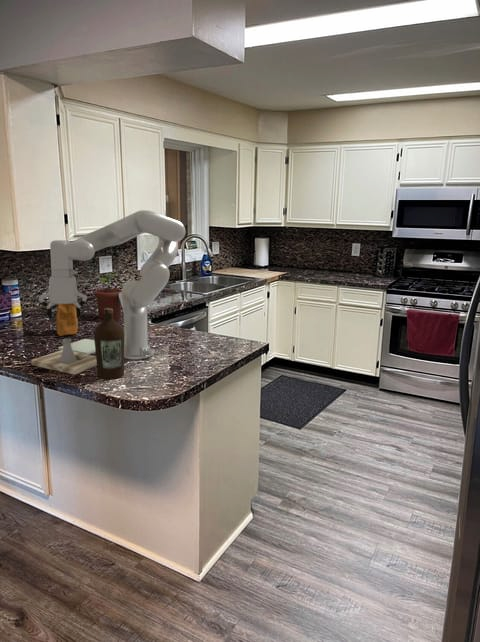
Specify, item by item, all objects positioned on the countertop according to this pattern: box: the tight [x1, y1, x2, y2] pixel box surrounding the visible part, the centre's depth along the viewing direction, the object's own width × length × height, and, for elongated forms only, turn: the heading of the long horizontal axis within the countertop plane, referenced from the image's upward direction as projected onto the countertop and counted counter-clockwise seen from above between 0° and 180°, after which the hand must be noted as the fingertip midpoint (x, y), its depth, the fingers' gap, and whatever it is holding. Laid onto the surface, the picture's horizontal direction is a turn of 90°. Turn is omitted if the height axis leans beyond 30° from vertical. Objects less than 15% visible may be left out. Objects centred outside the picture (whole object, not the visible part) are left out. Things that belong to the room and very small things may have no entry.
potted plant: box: [93, 273, 123, 323], centre depth 252 cm, size 18×22×25 cm
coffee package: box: [55, 303, 79, 337], centre depth 223 cm, size 10×12×22 cm
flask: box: [58, 338, 78, 365], centre depth 180 cm, size 7×7×10 cm
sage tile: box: [57, 338, 96, 355], centre depth 203 cm, size 16×16×1 cm
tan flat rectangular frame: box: [31, 350, 97, 375], centre depth 181 cm, size 22×16×2 cm
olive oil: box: [93, 308, 125, 380], centre depth 167 cm, size 11×11×25 cm
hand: (64, 318), depth 177 cm, fingers open, 9 cm apart
